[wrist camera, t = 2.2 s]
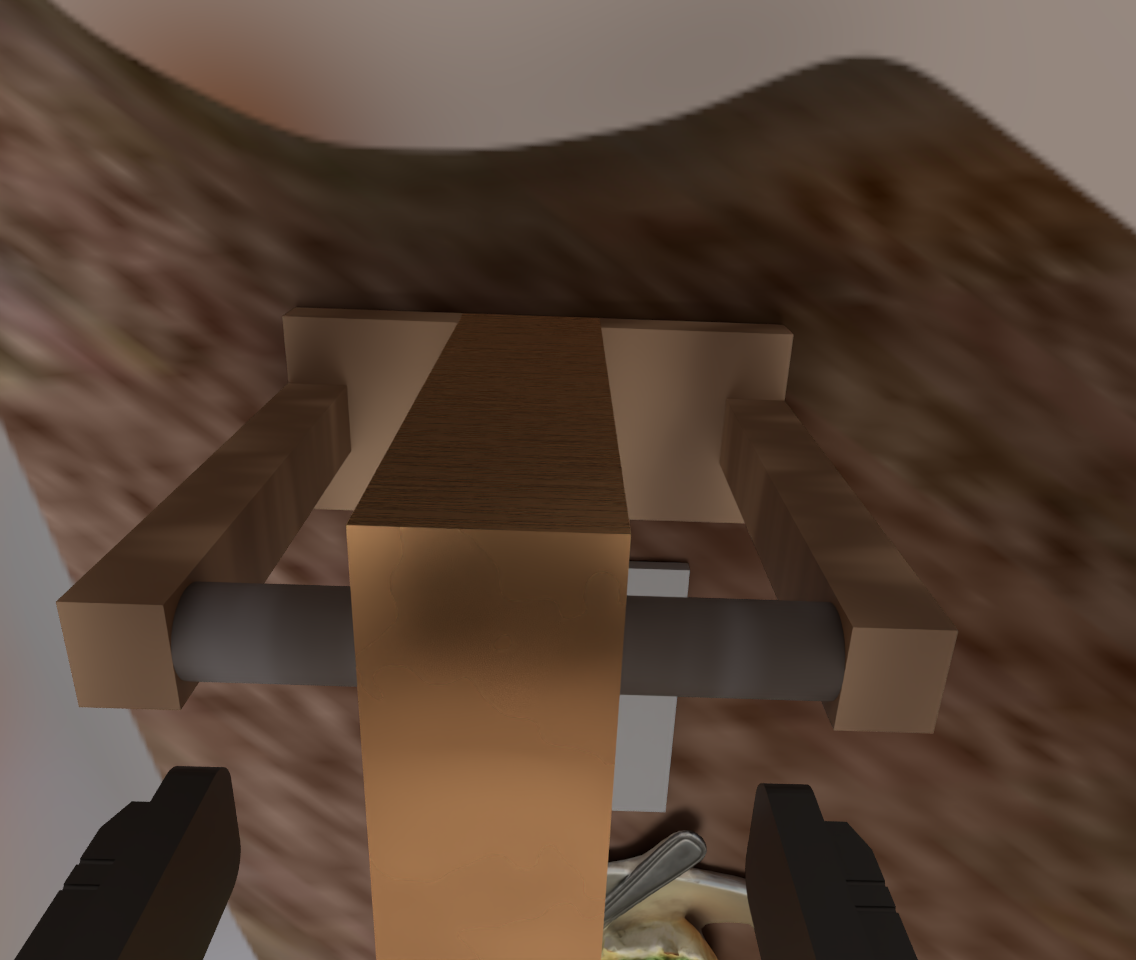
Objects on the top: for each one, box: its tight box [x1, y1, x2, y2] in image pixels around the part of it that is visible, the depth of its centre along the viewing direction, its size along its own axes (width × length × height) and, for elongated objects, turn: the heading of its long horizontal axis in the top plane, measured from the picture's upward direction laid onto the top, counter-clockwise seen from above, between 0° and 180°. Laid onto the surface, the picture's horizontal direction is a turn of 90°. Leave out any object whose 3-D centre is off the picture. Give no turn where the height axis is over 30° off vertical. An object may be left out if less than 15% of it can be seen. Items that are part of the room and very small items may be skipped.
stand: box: [56, 307, 958, 733], centre depth 24 cm, size 17×7×16 cm, turn 88°
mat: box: [612, 561, 690, 812], centre depth 36 cm, size 12×12×1 cm
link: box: [346, 313, 631, 960], centre depth 18 cm, size 4×10×12 cm, turn 178°
